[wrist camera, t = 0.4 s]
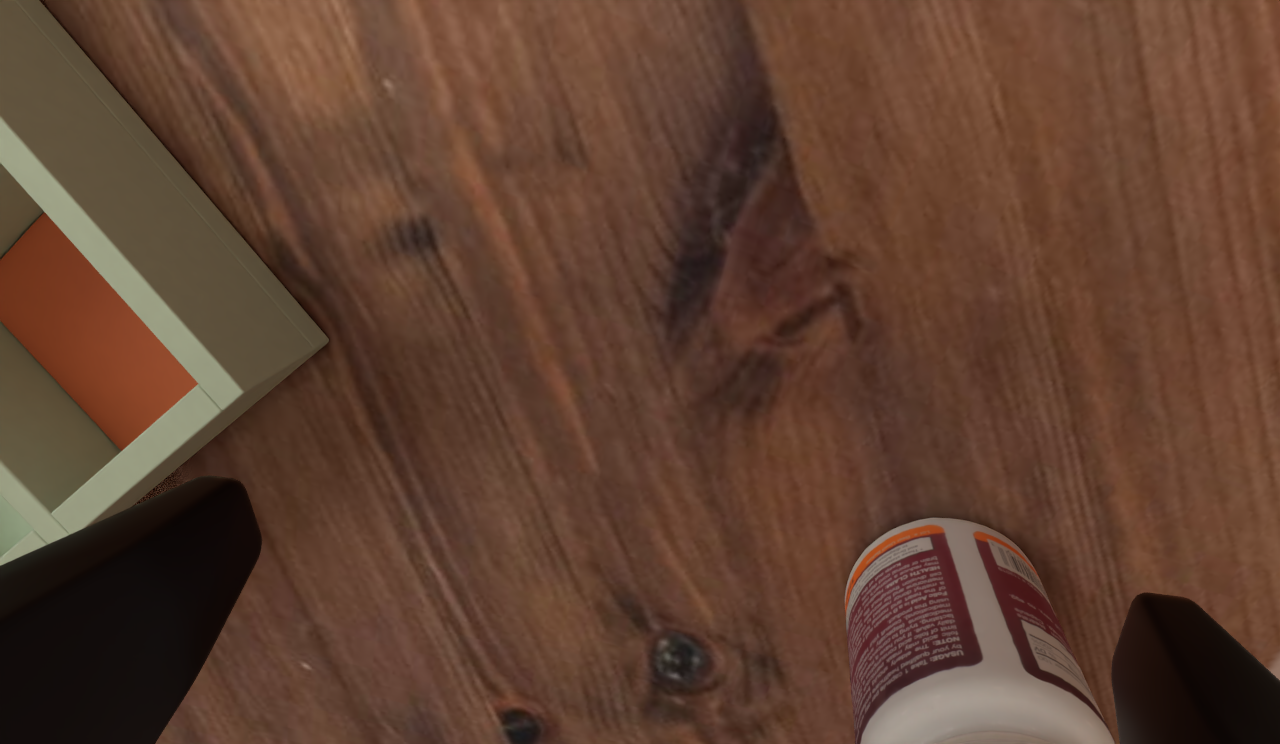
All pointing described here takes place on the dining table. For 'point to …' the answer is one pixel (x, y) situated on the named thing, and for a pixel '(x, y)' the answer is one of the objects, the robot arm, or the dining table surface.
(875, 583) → the pill bottle
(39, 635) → the robot arm
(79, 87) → the divided tray
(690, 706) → the dining table surface
